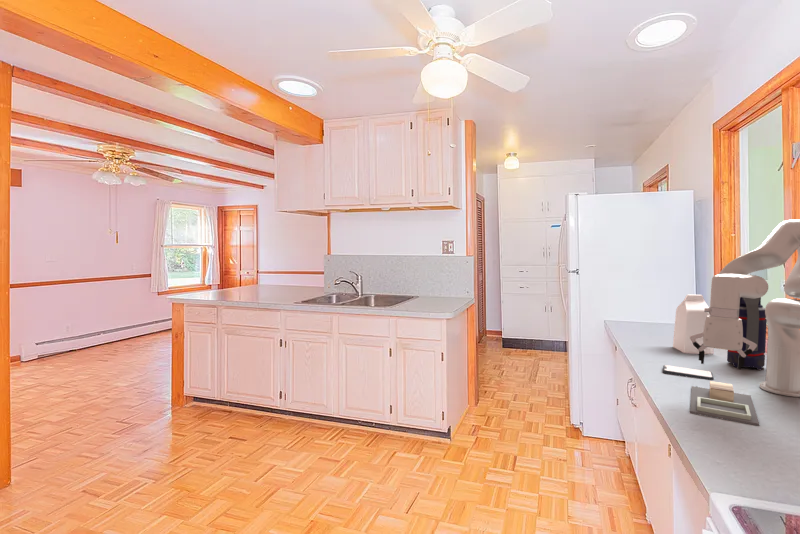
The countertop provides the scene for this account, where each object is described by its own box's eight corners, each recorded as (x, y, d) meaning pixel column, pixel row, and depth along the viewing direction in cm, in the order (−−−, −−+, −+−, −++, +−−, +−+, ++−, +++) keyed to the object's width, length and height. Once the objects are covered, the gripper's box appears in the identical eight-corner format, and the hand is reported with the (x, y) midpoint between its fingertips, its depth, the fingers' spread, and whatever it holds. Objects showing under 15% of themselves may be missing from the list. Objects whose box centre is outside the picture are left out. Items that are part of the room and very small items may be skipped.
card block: (709, 391, 145) (709, 380, 144) (731, 394, 141) (732, 383, 141) (709, 399, 137) (710, 388, 137) (733, 403, 134) (734, 391, 134)
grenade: (723, 360, 182) (726, 290, 180) (759, 363, 177) (762, 291, 175) (732, 369, 170) (735, 294, 168) (770, 373, 165) (774, 295, 163)
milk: (684, 353, 194) (686, 296, 193) (672, 346, 206) (674, 293, 204) (713, 354, 192) (715, 296, 191) (700, 347, 204) (702, 293, 202)
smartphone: (711, 375, 165) (663, 368, 173) (711, 371, 165) (663, 364, 173) (713, 382, 157) (662, 374, 166) (714, 377, 157) (663, 370, 166)
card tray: (697, 410, 129) (697, 406, 129) (697, 400, 137) (697, 396, 137) (751, 420, 122) (751, 416, 122) (748, 409, 129) (748, 405, 129)
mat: (691, 387, 150) (691, 386, 150) (750, 397, 140) (750, 395, 140) (690, 412, 128) (690, 410, 128) (759, 425, 119) (759, 423, 119)
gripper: (691, 311, 139) (688, 363, 140) (760, 318, 129) (756, 373, 130) (691, 309, 145) (688, 358, 146) (757, 314, 136) (753, 368, 137)
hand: (720, 365), depth 138 cm, fingers open, 9 cm apart
